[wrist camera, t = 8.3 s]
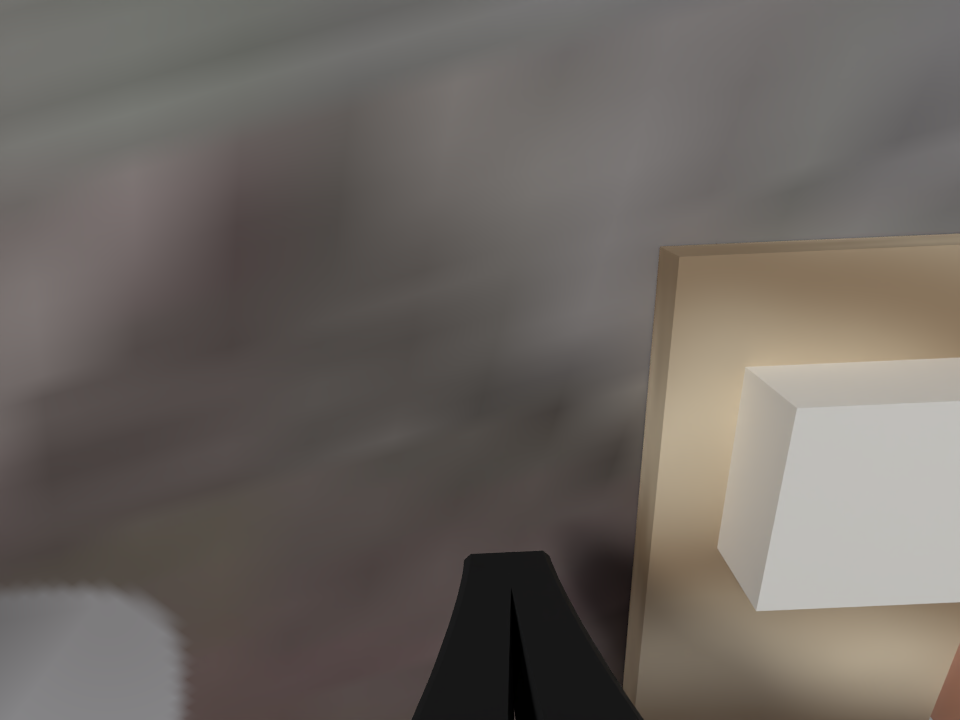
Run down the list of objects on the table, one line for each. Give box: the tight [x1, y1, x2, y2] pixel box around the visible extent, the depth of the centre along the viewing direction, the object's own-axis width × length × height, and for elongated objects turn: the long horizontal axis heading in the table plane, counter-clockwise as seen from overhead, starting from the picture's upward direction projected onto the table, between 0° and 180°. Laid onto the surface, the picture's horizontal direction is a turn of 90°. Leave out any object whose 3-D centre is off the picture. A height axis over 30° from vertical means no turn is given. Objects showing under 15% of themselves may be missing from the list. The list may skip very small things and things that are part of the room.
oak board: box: [623, 234, 960, 720], centre depth 15 cm, size 18×9×1 cm, turn 2°
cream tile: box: [717, 358, 960, 611], centre depth 12 cm, size 5×5×2 cm
